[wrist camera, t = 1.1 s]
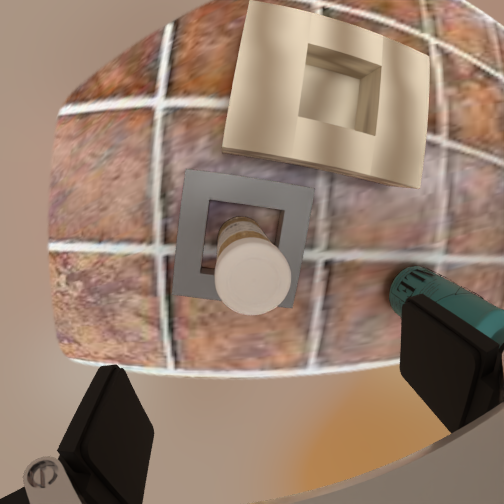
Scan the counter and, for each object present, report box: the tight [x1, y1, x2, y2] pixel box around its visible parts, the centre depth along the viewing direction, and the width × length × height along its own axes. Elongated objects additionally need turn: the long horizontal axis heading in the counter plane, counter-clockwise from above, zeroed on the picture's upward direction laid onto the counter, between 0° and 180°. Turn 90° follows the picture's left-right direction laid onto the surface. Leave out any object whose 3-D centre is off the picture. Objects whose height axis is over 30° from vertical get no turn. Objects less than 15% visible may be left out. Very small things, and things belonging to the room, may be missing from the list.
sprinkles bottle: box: [215, 217, 291, 315], centre depth 25 cm, size 5×5×13 cm
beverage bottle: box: [389, 266, 504, 354], centre depth 24 cm, size 6×7×20 cm
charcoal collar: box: [172, 169, 315, 308], centre depth 30 cm, size 12×12×2 cm
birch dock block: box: [222, 0, 430, 189], centre depth 26 cm, size 18×14×6 cm
